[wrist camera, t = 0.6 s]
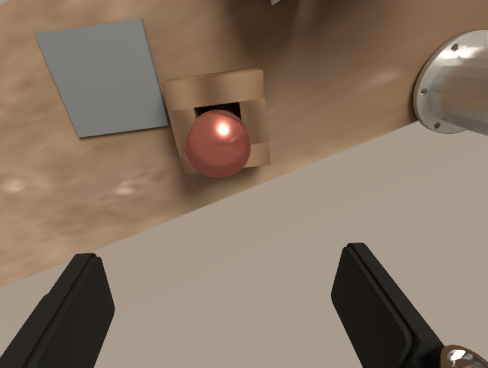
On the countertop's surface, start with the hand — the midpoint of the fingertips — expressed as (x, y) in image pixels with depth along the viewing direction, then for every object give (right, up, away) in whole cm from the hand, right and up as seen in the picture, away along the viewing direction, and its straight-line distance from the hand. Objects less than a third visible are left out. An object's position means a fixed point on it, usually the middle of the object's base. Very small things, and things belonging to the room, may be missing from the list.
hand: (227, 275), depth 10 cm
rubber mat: (-16, +16, +22) cm, 31 cm away
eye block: (-2, +13, +24) cm, 28 cm away
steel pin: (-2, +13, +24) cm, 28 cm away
